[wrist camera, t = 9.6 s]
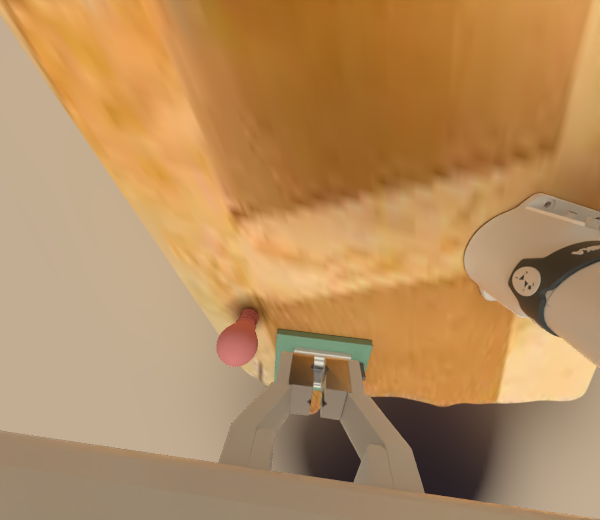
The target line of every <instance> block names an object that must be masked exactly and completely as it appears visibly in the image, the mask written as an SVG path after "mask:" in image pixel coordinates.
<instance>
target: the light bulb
mask: <svg viewBox="0 0 600 520" xmlns="http://www.w3.org/2000/svg"><path fill="white" fill-rule="evenodd" d="M257 321H258V314H257V313H256V312H255V311H254V310H252V309H245V310H244V311H243V312H242V313H241V315H240V317H239V319H238V320H237V321H236V323H234V324H232V325H231V326H229V327H227V328H226V329H225V330H224V331H223V332H222V333H221V334H220V336H219V338H218V341H217V353H218V356H219V358H220V359H221V360H222V361H223V362H224V363H225V364H227V365H229V366H235V367H236V366H242V365H244V364H246V363H248V362H249V361H250V360H251V359H252V358H253V357H254V355H255V353H256V351H257V347H258V339H257V335H256V332H255V329H256V324H257Z"/></svg>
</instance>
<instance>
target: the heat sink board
mask: <svg viewBox="0 0 600 520" xmlns="http://www.w3.org/2000/svg"><path fill="white" fill-rule="evenodd" d="M372 347H373V345H372V341H371V340H364V339H355V338H347V337H339V336H331V335H323V334H315V333H307V332H299V331H291V330H283V329H278V331H277V341H276V361H275V380H274V383H275V382H276V376H277V371H278V366H279V361H280V356H281V353H282V351H287V352H294V353H301V354H307V355H314V369H321V370H322V369H324V358H325V357H332V358H341V359H348V360H357V361H359V364H360V369H361V375H362V380H365V371H366V367H367V364H368V360H369V357H370V354H371V350H372ZM313 390H319V391H321V383H314V384H313Z"/></svg>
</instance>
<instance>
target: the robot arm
mask: <svg viewBox="0 0 600 520" xmlns="http://www.w3.org/2000/svg"><path fill="white" fill-rule="evenodd" d="M546 203H547V204H546ZM545 204H546V205H545ZM464 266H465V270H466V272H467V274H468V276H469V277H470V278H471V279H472V280H473V281H474V282H475V283H476V284H477V285H478V286H479V290H480V293H481V295H482V297H484V298H485V299H486V300H489V301H498V302H499V303H501V304H502V305H503V306H505V307H506V308H508V309H509V310H510V311H512V312H513V313H515V314H516V315H517V316H519V317H521V318H530V319H532V321H533V322H534V323H536V324H537V325H538V326H540V327H541V328H543V329H545V330H546V331H548V332H549V333H551V334H553V335H554V336H557V337H560V338H562V339H563V340H564V341H566V342H567V343H568V344H569V345H571V346H572V347H573V348H574V349H576V350H577V351H578V352H579V353H581V354H582V355H583V356H584V357H586V358H587V359H588V360H589V361H591V362H592V363H593V364H595V365H596V366H597V367H598V368H600V211H597V210H594V209H590V208H587V207H584V206H581V205H578V204H575V203H572V202H569V201H566V200H563V199H559V198H556V197H553V196H550V195H547V194H544V193H537V194H534V195H532V196H531V197H529V198H528V199H527V200H525V201H524V202H523V203H522V204H520V205H519V206H518V207H516V208H515V209H512V210H510V211H508V212H505V213H503V214H501V215H499V216H497V217H495V218H493V219H492V220H490V221H489V222H487V223H486V224H485V225H484V226H482V227H481V228H480V229H479V230H478V231H477V232H476V234H475V235H474V236H473V237H472V239H471V240H470V242H469V244H468V246H467V249H466V252H465V256H464ZM313 369H314V355H307V354H301V353H294V352H287V351H282V353H281V356H280V361H279V366H278V371H277V376H276V382H275V383H274V382H272V383H271V384H270V385H269V386H268V387H267V388H266V389H265V390H264V391H263V392H262V393H261V394H260V395H259V396H258V397H257V398H256V399H255V400H254V401H253V402H252V403H251V404H250V405H249V406H248V407H247V408H246V409H245V410H244V411H243V412H242V413H241V414H240V415H239V416H238V417H237V418H236V419H235V420H234V421H233V422H232V423H231V426H230V429H229V432H228V435H227V438H226V441H225V444H224V447H223V450H222V453H221V456H220V459H219V462H218V463H215V462H209V461H202V460H195V459H187V458H181V457H174V456H168V455H161V454H154V453H148V452H141V451H133V450H127V449H120V448H114V447H107V446H99V445H93V444H86V443H80V442H73V441H66V440H59V439H53V438H46V437H39V436H33V435H26V434H19V433H12V432H6V431H0V520H600V519H595V518H587V517H581V516H574V515H567V514H560V513H554V512H546V511H540V510H533V509H526V508H520V507H513V506H506V505H499V504H493V503H486V502H478V501H472V500H465V499H458V498H451V497H445V496H438V495H432V494H425V493H424V489H423V486H422V483H421V479H420V476H419V472H418V469H417V466H416V462H415V459H414V456H413V452H412V449H411V448H410V446H409V445H408V444H407V443H406V441H405V440H404V439H403V438H402V437H401V435H400V434H399V433H398V431H396V429H395V428H394V427H393V425H392V424H391V423H390V422H389V421H388V419H387V418H386V417H385V415H384V414H383V413H382V411H381V410H380V409H379V408H378V407H377V405H376V404H375V403H374V401H373V400H372V399H371V398H370V396H369V395H365V392H364V386H363V380H362V375H361V369H360V364H359V361H357V360H348V359H341V358H332V357H325V358H324V369H322V375H321V393H322V396H321V417H323V418H329V419H335V420H341V424H342V425H343V427H344V429H345V431H346V433H347V435H348V437H349V439H350V440H351V442H352V444H353V446H354V448H355V450H356V452H357V454H358V455H359V457H360V459H361V464H360V467H359V469H358V472H357V474H356V477H355V480H354V483H351V482H344V481H337V480H331V479H324V478H317V477H310V476H303V475H297V474H290V473H283V472H276V471H272V458H273V442H274V435H275V434H276V432H277V431H278V430H279V428H280V426H281V425H282V424H283V423H284V421H285V420H286V418H287V417H288V415H289V413H291V414H301V415H309V411H310V406H311V398H312V393H313V384H314V371H313Z"/></svg>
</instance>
